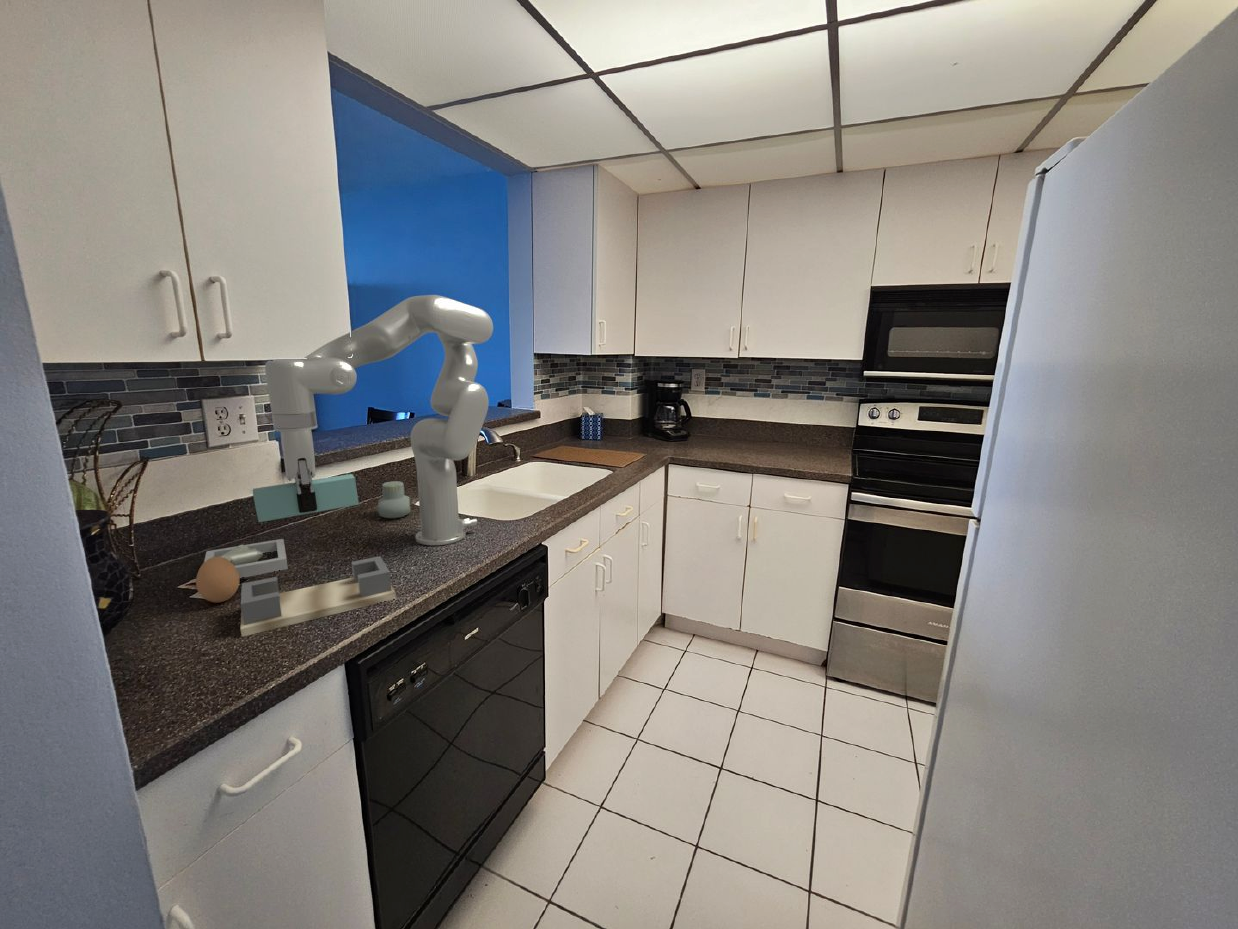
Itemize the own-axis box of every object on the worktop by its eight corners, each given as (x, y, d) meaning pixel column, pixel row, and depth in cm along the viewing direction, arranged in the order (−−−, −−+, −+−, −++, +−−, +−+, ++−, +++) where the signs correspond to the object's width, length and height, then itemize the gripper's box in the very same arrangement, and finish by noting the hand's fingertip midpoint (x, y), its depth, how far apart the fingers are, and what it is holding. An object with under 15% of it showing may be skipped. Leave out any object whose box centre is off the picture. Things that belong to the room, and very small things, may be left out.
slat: (355, 499, 114) (352, 473, 113) (358, 504, 111) (354, 477, 110) (258, 516, 104) (252, 488, 103) (258, 522, 101) (252, 493, 100)
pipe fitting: (265, 560, 122) (235, 559, 121) (265, 545, 121) (234, 543, 120) (245, 574, 114) (212, 573, 113) (244, 558, 113) (211, 557, 112)
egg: (244, 590, 105) (237, 548, 103) (240, 604, 100) (233, 560, 98) (203, 598, 102) (195, 555, 100) (197, 612, 96) (188, 567, 94)
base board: (383, 577, 112) (383, 571, 112) (396, 599, 102) (395, 592, 102) (242, 608, 98) (241, 601, 98) (241, 637, 88) (240, 629, 88)
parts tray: (284, 548, 128) (283, 538, 127) (287, 569, 116) (286, 558, 115) (208, 561, 119) (206, 551, 119) (203, 585, 107) (201, 574, 107)
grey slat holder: (381, 573, 110) (380, 556, 110) (391, 590, 103) (389, 571, 102) (244, 603, 97) (241, 583, 96) (244, 625, 89) (240, 604, 88)
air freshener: (381, 511, 157) (378, 480, 155) (410, 509, 160) (408, 478, 158) (378, 522, 147) (375, 489, 145) (409, 520, 150) (407, 486, 148)
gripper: (271, 418, 108) (284, 501, 112) (274, 428, 94) (288, 523, 99) (312, 415, 112) (323, 496, 116) (320, 425, 99) (332, 516, 103)
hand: (307, 507), depth 107 cm, fingers closed on slat, 4 cm apart
